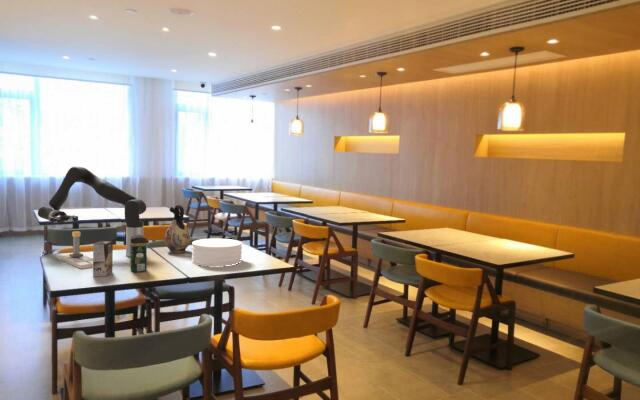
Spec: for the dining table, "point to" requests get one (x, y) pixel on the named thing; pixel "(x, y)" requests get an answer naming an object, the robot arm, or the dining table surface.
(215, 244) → the plate stack
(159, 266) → the dining table surface
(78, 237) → the yellow capped tube
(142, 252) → the coffee jar
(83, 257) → the beige flat slab
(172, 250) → the ceramic jug
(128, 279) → the dining table surface
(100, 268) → the coffee box
